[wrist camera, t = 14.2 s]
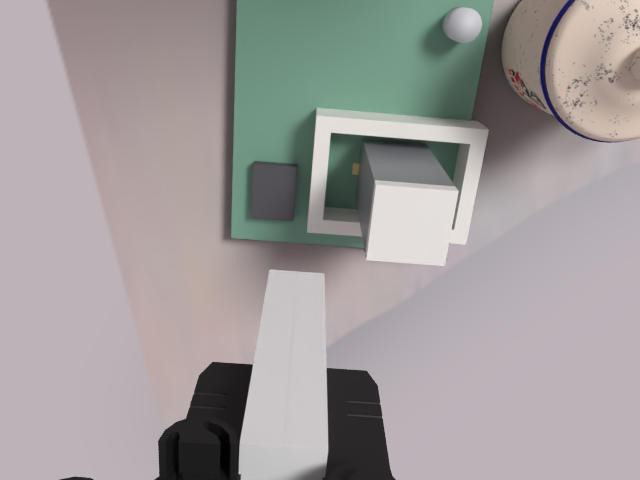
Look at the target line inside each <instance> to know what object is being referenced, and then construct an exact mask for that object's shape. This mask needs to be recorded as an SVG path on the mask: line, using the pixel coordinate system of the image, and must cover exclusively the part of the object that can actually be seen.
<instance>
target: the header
mask: <svg viewBox="0 0 640 480" xmlns="http://www.w3.org/2000/svg"><path fill="white" fill-rule="evenodd" d="M488 132H489V130H488V129H487V128H486V127H485V126H484V125H483V124H481V123H480V122H479V121H470V120H458V119H446V118H434V117H422V116H410V115H398V114H386V113H374V112H362V111H350V110H338V109H326V108H317V109H316V122H315V134H314V146H313V159H312V171H311V184H310V196H309V209H308V223H307V232H308V233H321V234H334V235H347V236H360V237H362V233H361V227H360V222H359V216H358V210H357V209H346V208H333V207H324V202H325V192H326V181H327V170H328V159H329V148H330V137H331V133H342V134H354V135H366V136H379V137H391V138H403V139H415V140H427V141H440V142H452V143H460V145H459V150H458V156H457V161H456V167H455V172H454V178H453V184H454V185H455V187H456V188H457V189H458V191H459V193H458V198H457V203H456V208H455V214H454V219H453V224H452V230H451V235H450V240H449V243H453V244H466V242H467V237H468V232H469V227H470V222H471V217H472V212H473V207H474V202H475V197H476V192H477V187H478V182H479V177H480V172H481V167H482V162H483V157H484V152H485V147H486V142H487V137H488ZM359 166H360V164H359V163H353V170H352V174H353V175H359Z"/></svg>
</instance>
